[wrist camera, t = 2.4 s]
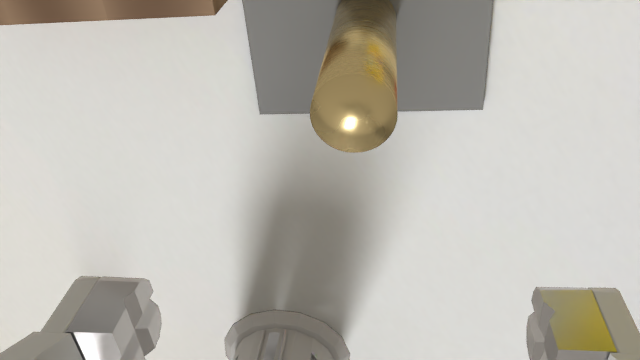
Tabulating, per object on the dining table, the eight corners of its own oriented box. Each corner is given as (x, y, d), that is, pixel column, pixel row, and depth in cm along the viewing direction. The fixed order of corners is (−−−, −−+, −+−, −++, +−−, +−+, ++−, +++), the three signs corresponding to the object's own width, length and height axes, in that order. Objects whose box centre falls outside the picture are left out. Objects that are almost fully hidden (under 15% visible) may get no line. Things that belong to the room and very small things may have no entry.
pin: (396, -13, 26) (397, 72, 18) (396, 48, 28) (397, 152, 20) (332, -9, 27) (306, 75, 18) (336, 51, 28) (313, 152, 20)
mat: (500, -103, 24) (502, -102, 24) (481, 106, 30) (482, 109, 29) (231, -84, 26) (229, -83, 25) (261, 110, 31) (259, 114, 31)
